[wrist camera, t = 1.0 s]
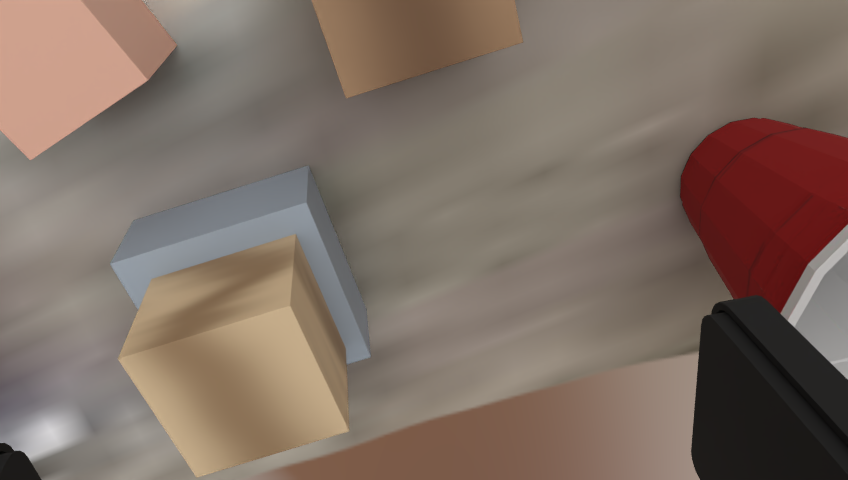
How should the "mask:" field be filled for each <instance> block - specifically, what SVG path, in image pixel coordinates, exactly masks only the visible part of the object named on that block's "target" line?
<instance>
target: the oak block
mask: <svg viewBox="0 0 848 480" xmlns="http://www.w3.org/2000/svg"><path fill="white" fill-rule="evenodd" d="M118 360H119V361H120V363H121V364H122V366H123V367H124V369H125V370H126V372H127V373H128V375H129V376H130V378H131V379H132V381H133V382H134V384H135V385H136V387H137V388H138V390H139V391H140V393H141V394H142V396H143V397H144V399H145V400H146V402H147V403H148V405H149V406H150V408H151V409H152V411H153V412H154V414H155V415H156V417H157V418H158V420H159V421H160V423H161V424H162V426H163V427H164V429H165V430H166V432H167V433H168V435H169V436H170V438H171V439H172V441H173V443H174V444H175V446H176V447H177V449H178V450H179V452H180V453H181V455H182V456H183V458H184V459H185V461H186V462H187V464H188V465H189V467H190V468H191V470H192V471H193V473H194V474H195V476H196V477H200V476H203V475H207V474H210V473H213V472H217V471H220V470H223V469H226V468H230V467H233V466H236V465H240V464H243V463H246V462H249V461H253V460H256V459H259V458H263V457H266V456H269V455H272V454H276V453H279V452H282V451H286V450H289V449H292V448H296V447H299V446H302V445H305V444H309V443H312V442H315V441H319V440H322V439H325V438H328V437H332V436H335V435H338V434H342V433H345V432H348V431H349V412H348V387H347V363H346V347H345V345H344V343H343V341H342V338H341V336H340V334H339V331H338V329H337V327H336V325H335V322H334V320H333V318H332V315H331V313H330V311H329V309H328V306H327V304H326V302H325V299H324V297H323V295H322V293H321V290H320V288H319V286H318V283H317V281H316V279H315V277H314V274H313V272H312V270H311V267H310V265H309V263H308V261H307V258H306V256H305V254H304V251H303V249H302V247H301V245H300V242H299V240H298V238H297V235H296V234H294V235H290V236H287V237H284V238H281V239H278V240H274V241H271V242H268V243H265V244H262V245H258V246H255V247H252V248H249V249H246V250H243V251H239V252H236V253H233V254H230V255H227V256H223V257H220V258H217V259H214V260H211V261H207V262H204V263H201V264H198V265H195V266H191V267H188V268H185V269H182V270H179V271H175V272H172V273H169V274H166V275H163V276H159V277H156V278H153V279H151V281H150V284H149V286H148V288H147V291H146V293H145V295H144V298H143V300H142V303H141V305H140V307H139V310H138V312H137V315H136V317H135V319H134V322H133V324H132V326H131V329H130V331H129V334H128V336H127V338H126V341H125V343H124V346H123V348H122V350H121V353H120V355H119V358H118Z"/></svg>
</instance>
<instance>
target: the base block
mask: <svg viewBox="0 0 848 480" xmlns="http://www.w3.org/2000/svg"><path fill="white" fill-rule="evenodd" d="M294 234H296V235H297V238H298V240H299V242H300V245H301V247H302V249H303V251H304V254H305V256H306V258H307V261H308V263H309V265H310V267H311V270H312V272H313V274H314V277H315V279H316V281H317V283H318V286H319V288H320V290H321V293H322V295H323V297H324V299H325V302H326V304H327V306H328V309H329V311H330V313H331V315H332V318H333V320H334V322H335V325H336V327H337V329H338V331H339V334H340V336H341V338H342V341H343V343H344V345H345V347H346V363H347V364H350V363H353V362H357V361H360V360H363V359H366V358H370V357H371V353H370V342H369V331H368V320H367V309H366V307H365V304H364V302H363V300H362V297H361V295H360V292H359V290H358V287H357V285H356V282H355V280H354V277H353V275H352V272H351V270H350V267H349V265H348V262H347V260H346V257H345V255H344V252H343V250H342V247H341V245H340V242H339V240H338V237H337V235H336V232H335V230H334V227H333V225H332V222H331V220H330V217H329V215H328V212H327V210H326V207H325V205H324V203H323V200H322V198H321V195H320V193H319V190H318V188H317V185H316V183H315V180H314V178H313V175H312V173H311V170H310V168H309V165H308V166H305V167H302V168H299V169H296V170H292V171H289V172H286V173H283V174H280V175H277V176H273V177H270V178H267V179H264V180H261V181H257V182H254V183H251V184H248V185H245V186H242V187H238V188H235V189H232V190H229V191H226V192H222V193H219V194H216V195H213V196H210V197H207V198H203V199H200V200H197V201H194V202H191V203H188V204H184V205H181V206H178V207H175V208H172V209H168V210H165V211H162V212H159V213H156V214H153V215H149V216H146V217H143V218H140V219H137V220H134V221H133V222H132V224H131V226H130V228H129V230H128V231H127V233H126V235H125V237H124V239H123V241H122V243H121V244H120V246H119V248H118V250H117V252H116V254H115V255H114V257H113V259H112V261H111V263H110V265H111V267H112V268H113V270H114V271H115V273H116V275H117V276H118V278H119V280H120V281H121V283H122V284H123V286H124V288H125V289H126V291H127V293H128V294H129V296H130V297H131V299H132V301H133V302H134V304H135V306H136V307H137V309H138V310H139V307H140V305H141V303H142V300H143V298H144V295H145V293H146V291H147V288H148V286H149V284H150V281H151V279H153V278H156V277H159V276H163V275H166V274H169V273H172V272H175V271H179V270H182V269H185V268H188V267H191V266H195V265H198V264H201V263H204V262H207V261H211V260H214V259H217V258H220V257H223V256H227V255H230V254H233V253H236V252H239V251H243V250H246V249H249V248H252V247H255V246H258V245H262V244H265V243H268V242H271V241H274V240H278V239H281V238H284V237H287V236H290V235H294Z"/></svg>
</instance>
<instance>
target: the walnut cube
mask: <svg viewBox="0 0 848 480" xmlns="http://www.w3.org/2000/svg"><path fill="white" fill-rule="evenodd" d="M312 3H313V6H314V9H315V12H316V14H317V17H318V20H319V23H320V26H321V29H322V31H323V34H324V37H325V40H326V43H327V46H328V49H329V51H330V54H331V57H332V60H333V63H334V66H335V68H336V71H337V74H338V77H339V80H340V83H341V85H342V88H343V91H344V94H345V97H346V98H349V97H352V96H355V95H358V94H362V93H365V92H368V91H371V90H374V89H377V88H381V87H384V86H387V85H390V84H393V83H396V82H399V81H403V80H406V79H409V78H412V77H415V76H418V75H422V74H425V73H428V72H431V71H434V70H437V69H440V68H444V67H447V66H450V65H453V64H456V63H459V62H463V61H466V60H469V59H472V58H475V57H478V56H481V55H485V54H488V53H491V52H494V51H497V50H500V49H504V48H507V47H510V46H513V45H516V44H519V43H522V42H523V39H522V34H521V30H520V25H519V20H518V15H517V10H516V5H515V0H312Z"/></svg>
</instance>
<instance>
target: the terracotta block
mask: <svg viewBox="0 0 848 480" xmlns="http://www.w3.org/2000/svg"><path fill="white" fill-rule="evenodd" d="M176 46H177V44H176V43H175V42H174V40H173V39H172V38H171V37H170V35H169V34H168V33H167V32H166V30H165V29H164V28H163V27H162V25H161V24H160V23H159V22H158V20H157V19H156V18H155V16H154V15H153V14H152V13H151V11H150V10H149V9H148V8H147V6H146V5H145V4H144V3H143V1H142V0H0V130H1V131H2V132H3V133H4V134H5V135H6V136H7V137H8V138H9V139H10V140H11V141H12V142H13V143H14V144H15V145H16V146H17V147H18V148H19V149H20V150H21V151H22V152H23V153H24V154H25V155H26V156H27V157H28V158H29V159H30V160H32V159H33V158H34V157H36V156H37V155H39V154H40V153H42V152H43V151H45V150H46V149H48V148H49V147H51V146H52V145H54V144H55V143H57V142H58V141H60V140H61V139H62V138H64V137H65V136H67V135H68V134H70V133H71V132H73V131H74V130H76V129H77V128H79V127H80V126H82V125H83V124H85V123H86V122H88V121H89V120H90V119H92V118H93V117H95V116H96V115H98V114H99V113H101V112H102V111H104V110H105V109H107V108H108V107H110V106H111V105H113V104H114V103H116V102H117V101H118V100H120V99H121V98H123V97H124V96H126V95H127V94H129V93H130V92H132V91H133V90H135V89H136V88H138V87H139V86H141V85H142V84H144V83H145V82H146V81H148V80H149V79H150V78H151V76H152V75H153V74H154V73H155V72H156V70H157V69H158V68H159V67H160V65H161V64H162V63H163V62H164V61H165V59H166V58H167V57H168V56H169V55H170V53H171V52H172V51H173V50H174V49H175V47H176Z"/></svg>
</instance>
